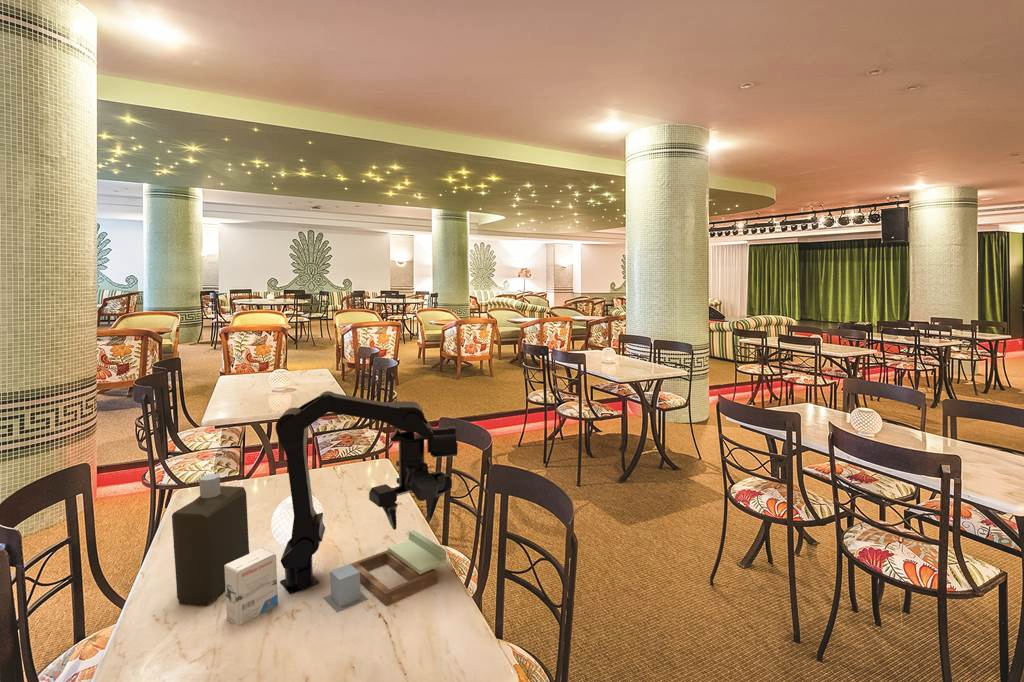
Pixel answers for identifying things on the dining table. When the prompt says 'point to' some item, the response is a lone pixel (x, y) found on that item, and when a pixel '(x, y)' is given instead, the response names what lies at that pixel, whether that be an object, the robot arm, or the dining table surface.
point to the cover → (419, 553)
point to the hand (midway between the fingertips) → (412, 523)
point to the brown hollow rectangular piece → (414, 578)
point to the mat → (338, 609)
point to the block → (345, 585)
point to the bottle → (208, 540)
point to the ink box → (250, 585)
